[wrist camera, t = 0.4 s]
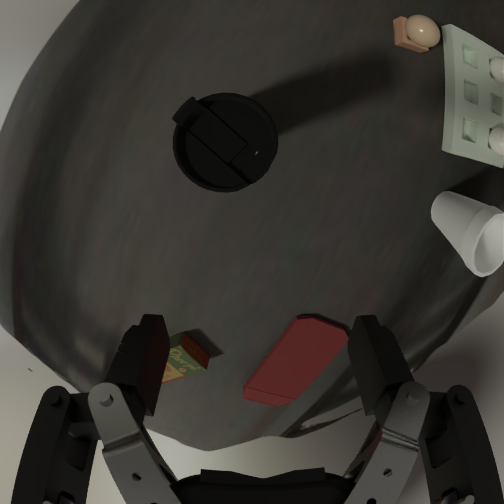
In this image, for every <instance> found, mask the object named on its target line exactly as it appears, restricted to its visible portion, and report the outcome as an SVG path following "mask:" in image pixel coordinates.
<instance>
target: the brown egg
mask: <svg viewBox="0 0 504 504" xmlns="http://www.w3.org/2000/svg"><path fill="white" fill-rule="evenodd" d="M405 30H406V33H407V35H408V37H409V38H410V39H411V40H412V41H413V42H414V43H415V44H417V45H419V46H422V47H433V46H435V45H436V44H437V43H438V42H439V40H440V31H439V28H438V26H437V25H436V24H435V22H434V21H433V20H431V19H430V18H428V17H426V16H423V15H413V16H411V17H409V18H408V19H407V21H406V23H405Z"/></svg>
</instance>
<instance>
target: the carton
mask: <svg viewBox="0 0 504 504" xmlns="http://www.w3.org/2000/svg"><path fill="white" fill-rule="evenodd" d="M169 339H170V353H169V357H168V361H167V364H166V368H165V372H164V376H163V380H162V383H165V382H169V381H173V380H176V379H179V378H183V377H186V376H190V375H193V374H196V373H199V372H203V371H206V370H207V367H208V362H209V357H210V356H209V355H208V354H207V353H206V352H205V351H204V350H203V349H202V348H201V347H199V346H198V345H197V344H196V343H195V342H194V341H193V340H192V339H191V338H190V337H189V336H188V335H187V334H186V333H185V332H181V333H179V334H176V335H174V336H172V337H169ZM162 383H161V384H162Z"/></svg>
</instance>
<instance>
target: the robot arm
mask: <svg viewBox="0 0 504 504" xmlns="http://www.w3.org/2000/svg"><path fill="white" fill-rule="evenodd" d="M169 353H170V339H169V336H168V332H167V329H166V325H165V321H164V318H163V316H162V315H154V314H144V315H143V317H142V319H141V322H140V324H139V326H138V325H133V326H132V327H131V328H130V329H129V330H128V331H127V332H126V333H125V334H124V336H123V339H122V341H121V345H119V348H118V350H117V352H116V355H115V357H114V359H113V362H112V364H111V366H110V369H109V371H108V374H107V376H106V379H105V381H104V383H101V384H98V385H96V386H95V387H94V388H93V389H92V390H91V391H90V392H88V393H77V394H70V393H69V392H68V391H67V390H66V389H65V388H64V387H62V386H53V387H50V388H49V389H47V390H46V391H45V393H44V394H43V396H42V399H41V401H40V404H39V406H38V409H37V412H36V414H35V417H34V420H33V422H32V425H31V428H30V431H29V434H28V437H27V440H26V444H25V447H24V450H23V453H22V457H21V460H20V464H19V468H18V472H17V476H16V480H15V485H14V489H13V494H12V500H11V504H86V498H87V492H88V486H89V480H90V475H91V469H92V464H93V460H94V455H95V450H96V446H97V442H98V440H102V442H103V445H104V449H102V454H103V457H104V459H105V462H106V464H107V466H108V468H109V471H110V473H111V475H112V477H113V479H114V481H115V483H116V485H117V487H118V489H119V491H120V493H121V494H122V496H123V498H124V500H125V502H126V504H395V503H396V501H397V499H398V497H399V495H400V493H401V491H402V489H403V487H404V485H405V483H406V481H407V479H408V476H409V474H410V472H411V469H412V467H413V465H414V462H415V459H416V457H417V454H418V451H419V445H420V449H421V454H422V458H423V463H424V467H425V473H426V478H427V484H428V489H429V496H430V503H431V504H504V499H503V494H502V488H501V483H500V479H499V474H498V471H497V466H496V463H495V458H494V455H493V452H492V448H491V445H490V442H489V438H488V435H487V432H486V429H485V426H484V424H483V421H482V418H481V415H480V413H479V410H478V407H477V405H476V402H475V400H474V398H473V395H472V393H471V392H470V390H469V389H467V388H466V387H465V386H462V385H455V386H453V387H451V388H450V389H449V390H448V392H447V393H443V392H442V393H441V392H429V391H428V390H427V388H426V387H425V386H424V385H423V384H421V383H419V382H415V380H414V379H413V376H412V374H411V371H410V369H409V367H408V365H407V362H406V360H405V358H404V356H403V353H401V349H400V347H399V345H398V342H397V340H396V338H395V336H394V334H393V333H392V332H391V331H390V330H389V329H388V328H387V327H386V326H380V324H379V322H378V320H377V318H376V316H375V315H362V316H357V317H356V319H355V322H354V325H353V328H352V331H351V334H350V337H349V340H348V354H349V357H350V361H351V364H352V368H353V371H354V374H355V378H356V381H357V385H358V389H359V392H360V396H361V399H362V403H363V407H364V411H365V415H366V416H368V415H374V414H375V417H376V421H375V422H374V424H373V426H372V428H371V430H370V432H369V434H368V436H367V438H366V440H365V442H364V443H363V445H362V447H361V449H360V451H359V453H358V454H357V456H356V457H355V459H354V460H353V461H352V463H351V464H350V465H349V467H348V468H347V470H346V471H345V473H344V475H343V476H339V475H336V474H331V473H325V469H324V467H322V468H313V469H304V470H294V471H291V472H287V473H284V474H280V475H276V476H272V477H268V478H257V477H253V476H248V475H243V474H240V473H236V472H232V471H218V470H205V469H201V474H199V475H193V476H189V477H186V478H183V479H181V480H179V481H178V479H177V478H176V476H175V475H174V473H173V472H172V470H171V469H170V468H169V466H168V465H167V464H166V462H165V461H164V459H163V458H162V456H161V455H160V453H159V451H158V450H157V448H156V447H155V444H154V443H153V441H152V439H151V437H150V436H149V434H148V432H147V430H146V428H145V426H144V424H143V420H144V416H145V415H147V416H154V412H155V408H156V403H157V399H158V395H159V391H160V387H161V383H162V380H163V376H164V372H165V368H166V364H167V361H168V357H169ZM417 439H418V441H419V445H417V444H416V443H417Z"/></svg>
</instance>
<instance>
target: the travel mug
mask: <svg viewBox="0 0 504 504" xmlns="http://www.w3.org/2000/svg"><path fill="white" fill-rule="evenodd" d="M172 119H173V120H174V121H175V122H176V123H177V125H176V128H175V131H174V135H173V151H174V156H175V159H176V161H177V164H178V166H179V167H180V169H181V170H182V172H183V173H184V175H186V176H187V177H188V178H189V179H190V180H191V181H192V182H194V183H195V184H197V185H198V186H200V187H202V188H205V189H207V190H211V191H215V192H235V191H238V190H241V189H243V188H245V187H247V186H249V184H253V183H255V182H257V181H258V180H259V179H260V178H262V177H263V176H264V175H265V173H266V172H267V171H268V170H269V168H270V165H271V163H272V162H273V160H274V158H275V156H276V154H277V149H278V135H277V130H276V127H275V124H274V122H273V120H272V118H271V117H270V115H269V114H268V112H267V111H266V110H265V109H264V108H263V107H262V106H261V105H260V104H258V103H257V102H256V101H254V100H252V99H250V98H248V97H246V96H243V95H239V94H235V93H218V94H212V95H209V96H206V97H204V98H202V99H200V100H198V101H196V100H195V98H194V97H191V98H189V99H188V100H187V101H186V102H185V103H184V104H183V105H182V106H181V107H180V108H179V109H178V111H177V112H176V113H175V114H174V116H173V118H172Z"/></svg>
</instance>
